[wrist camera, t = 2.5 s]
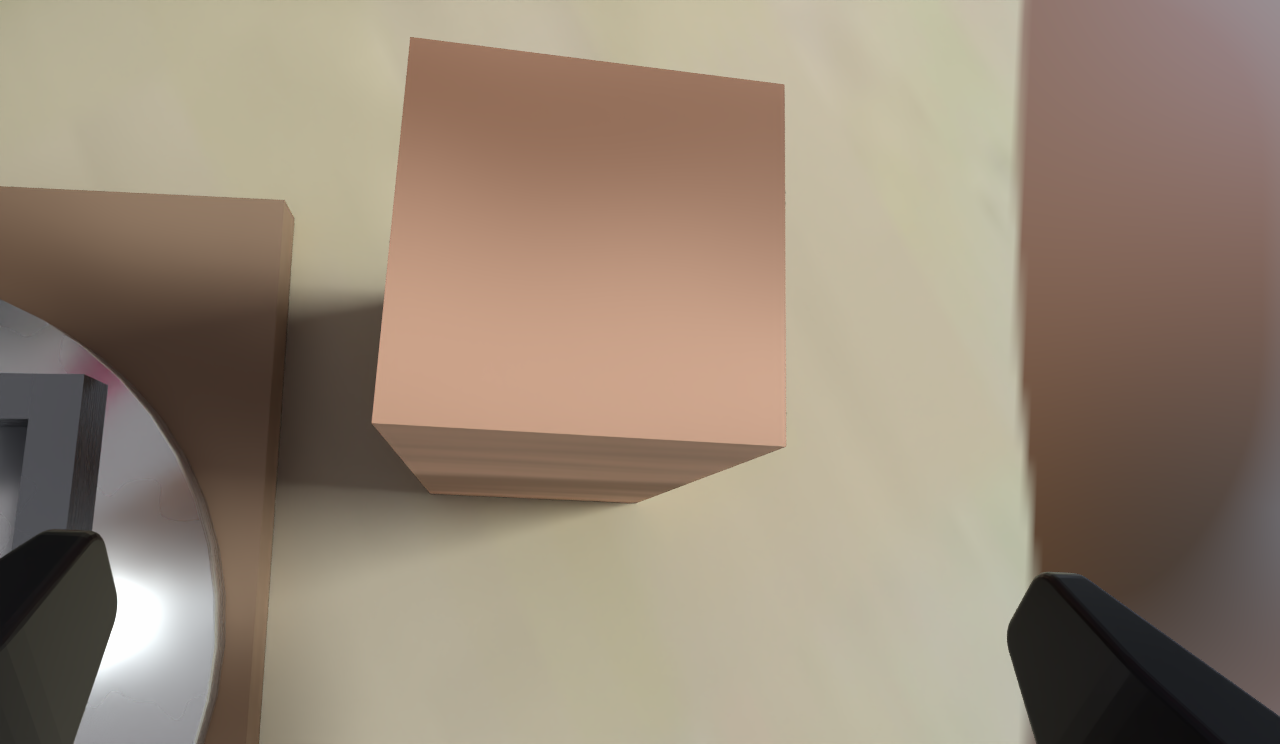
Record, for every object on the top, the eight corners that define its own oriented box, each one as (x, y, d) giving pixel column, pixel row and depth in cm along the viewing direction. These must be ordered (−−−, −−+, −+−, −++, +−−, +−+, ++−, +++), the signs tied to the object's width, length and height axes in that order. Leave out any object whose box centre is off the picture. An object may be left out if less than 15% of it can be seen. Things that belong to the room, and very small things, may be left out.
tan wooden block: (636, 503, 19) (786, 446, 10) (430, 493, 19) (371, 423, 9) (642, 309, 20) (783, 84, 11) (447, 293, 20) (409, 36, 10)
